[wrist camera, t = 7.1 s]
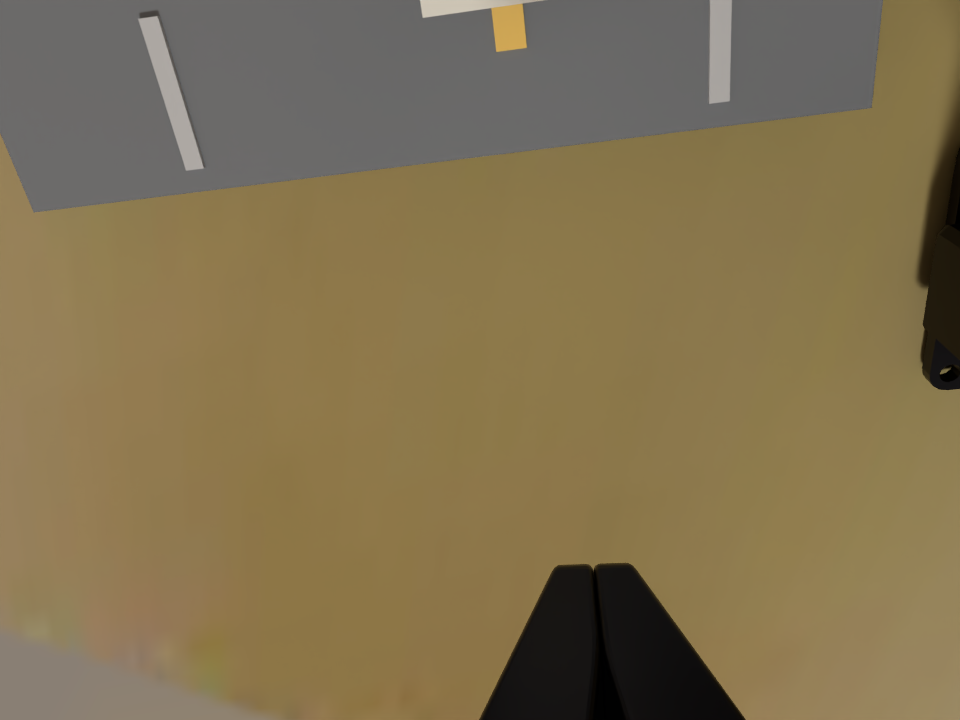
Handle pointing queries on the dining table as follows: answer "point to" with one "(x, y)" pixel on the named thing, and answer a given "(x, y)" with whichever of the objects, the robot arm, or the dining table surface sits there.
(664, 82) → the mixer panel
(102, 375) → the dining table surface
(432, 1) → the fader knob
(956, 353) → the robot arm
